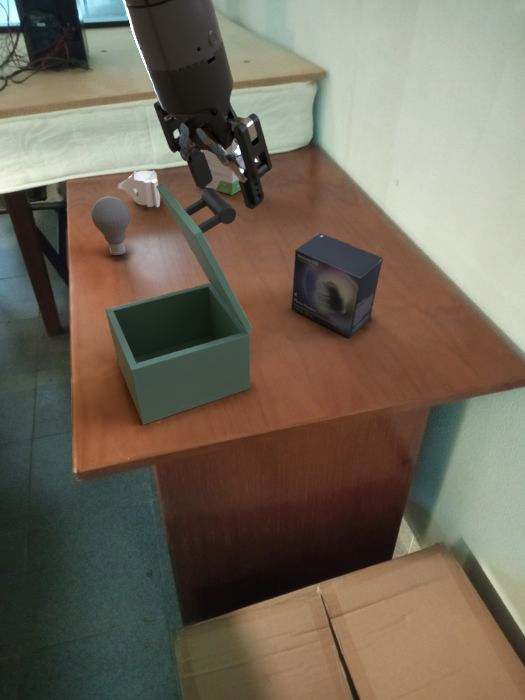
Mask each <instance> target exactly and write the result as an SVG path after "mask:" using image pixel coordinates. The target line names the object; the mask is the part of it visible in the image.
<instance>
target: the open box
mask: <svg viewBox="0 0 525 700" xmlns="http://www.w3.org/2000/svg"><path fill="white" fill-rule="evenodd" d="M105 314H106V318H107V323H108V326H109V330H110V336H111V339H112V343H113V348H114V352H115V355H116V361H117V364H118V367H119V369H120V371H121V374H122V376H123V379H124V380H125V383H126V386H127V389H128V391H129V394H130V396H131V399H132V401H133V404H134V406H135V408H136V411H137V414H138V416H139V420H140V421H141V425H143V426H144V425H147V424H150V423H154V422H156V421H159V420H161V419H165V418H167V417H170V416H173V415H177V414H180V413H184V412H186V411H188V410H191V409H195V408H197V407H201V406H203V405H206V404H209V403H213V402H215V401H219V400H221V399H224V398H227V397H229V396H234V395H236V394H238V393H242V392H245V391H248V390H250V389H251V385H250V384H251V383H250V382H251V374H250V373H251V362H250V360H251V334H250V332H248V333H247V332H246V331H245V330H244V328H243V327H242V326H241V324H240V323H239V321H238V320H237V319H236V317H235V316H234V315H233V313H232V312H231V310H230V309H229V308H228V306H227V305H226V304H225V302H224V301H223V299H222V298H221V297H220V295H219V294H218V292H217V291H216V290H215V288H214V287H213V286H212V284H211V283H210V282H208V283H203V284H200V285H196V286H192V287H188V288H184V289H180V290H176V291H172V292H168V293H163V294H160V295H156V296H151V297H148V298H144V299H140V300H136V301H132V302H128V303H124V304H120V305H116V306H111V307H108V308H105Z"/></svg>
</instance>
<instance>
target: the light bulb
mask: <svg viewBox="0 0 525 700" xmlns="http://www.w3.org/2000/svg"><path fill="white" fill-rule="evenodd" d="M90 215H91V216H90V217H91V220H92V223H93V224H94V226H95V227H96V229H98V231H99V232H100V233H101V234H102V235H103V236H104V239H105V241H106V242H107V245H108V248H109V253H110V254H111V255H114V256H120V255H124V253H126V251H127V249H126V244H125V240H126V231H127V229H128V227H129V224H130V221H131V220H130V219H131V214H130V209H129V208H128V206H127V205H126V204H125V202H124V201H122V200H121V199H120V198H118V197H115V196H109V195H108V196H104V197H103V196H102V197H101V198H99V199H98V200H96V201H95V203H94V204H93V206H92V209H91V214H90Z"/></svg>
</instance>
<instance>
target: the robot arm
mask: <svg viewBox="0 0 525 700" xmlns="http://www.w3.org/2000/svg"><path fill="white" fill-rule="evenodd" d="M122 2H123V4H124V7H125V11H126V13H127V17H128V20H129V24H130V25H129V26H130V28H131V31H132V35H133V37H134V40H135V43H136V46H137V48H138V51H139V53H140V56H141V59H142V62H143V64H144V66H145V69H146V71H147V74H148V76H149V79H150V81H151V84H152V86H153V89H154V92H155V95H156V97H157V101H155V102H154V103H153V108H154V111H155V113H156V116H157V120H158V121H159V124H160V127H161V129H162V130H161V131H162V132H163V134H164V138H165V141H166V143H167V146H168V149H169V150H170V152H172V153H173V154H176V153H177V152H178V153H179V155H180V158H181V159H182V160H183V161H184V162H186V163H187V166H188V168H189V171H190V173H191V176H192V179H193V181H194V184H195V186H196V187H197V188H199V189H201V190H202V189H205V188H206V186H207V185H208V184H209V183H210V182H211V181H212V179H213V177H212V174H211V171H210V168H209V165H208V162H207V159H206V157H205V154H204V152H201V150H208V151H210V152H211V153H213V154H215V155H216V156H217V158H218V159H219V160H220V162H221V163H222V164H223V165H224V166H229V167H230V168H231V169H232V171H233V172H234V173H235V175H236V176H237V177H238V179H239V181H238V182H239V185H240V188H241V190H240V191H241V194H242V198H243V201H244V203H245V205H244V206H245V207H246V208H247V209H250V210H254V209H256V207H258V205H260V204H261V203H262V202H263V201H264V199H265V193H264V188H263V186H262V182H261V178H262V177H263V176H264V175H266V174H267V173H268V172H269V171H271V170H272V169H273V164H272V163H273V162H272V159H271V156H270V152H269V149H268V145H267V143H266V142H267V141H266V138H265V135H264V131H263V127H262V124H261V121H260V118H259V116H258V115H257V114H256V113H254V112H253V113H250V114H249V115H248V116H247V117H242V116H238V115H237V113H236V111H235V109H234V108H233V106H232V104H231V96H232V93H233V88H234V78H233V74H232V70H231V67H230V64H229V59H228V55H227V52H226V48H225V44H224V40H223V36H222V32H221V28H220V25H219V21H218V17H217V13H216V10H215V6H214V4H213V0H122ZM175 131H178V134H179V135H178V136H176V137H175V134H174V133H175ZM233 140H234V141H235V143H237V144H238V148H237V149H235V150H234V151H233V152H232V153H227V152H226V151H225V150H226V149H227V148H229V147H230V146H231V145H232V143H233ZM239 156H242V158H243V161H244V168H242V166H241V165H240V164H239V162H238V161H237V158H238V157H239ZM257 158H258V159H257Z"/></svg>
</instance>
